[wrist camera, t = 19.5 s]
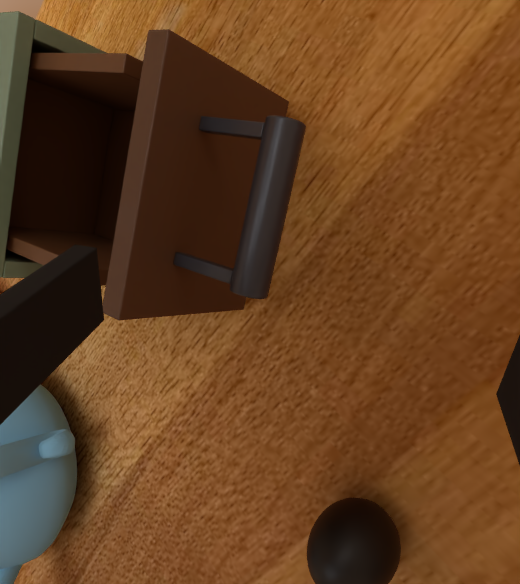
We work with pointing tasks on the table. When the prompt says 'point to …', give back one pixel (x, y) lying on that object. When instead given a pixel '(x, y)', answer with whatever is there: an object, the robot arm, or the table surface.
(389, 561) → the egg
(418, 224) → the table surface
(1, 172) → the cabinet
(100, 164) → the drawer
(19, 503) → the teapot
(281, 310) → the table surface
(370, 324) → the table surface
